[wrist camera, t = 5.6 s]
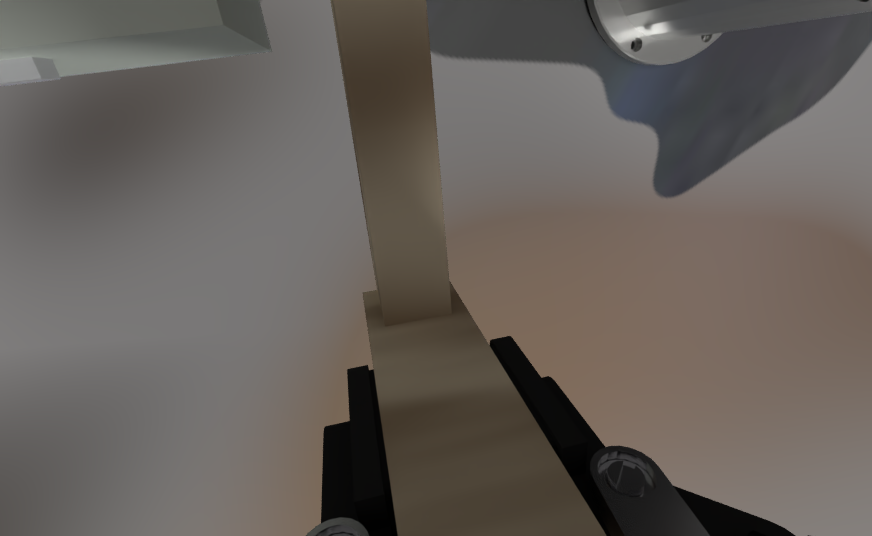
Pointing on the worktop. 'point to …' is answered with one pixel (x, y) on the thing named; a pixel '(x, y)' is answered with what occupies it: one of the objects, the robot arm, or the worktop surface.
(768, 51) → the worktop surface
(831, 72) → the worktop surface
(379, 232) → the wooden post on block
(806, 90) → the worktop surface
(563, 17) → the worktop surface
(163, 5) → the grey block
